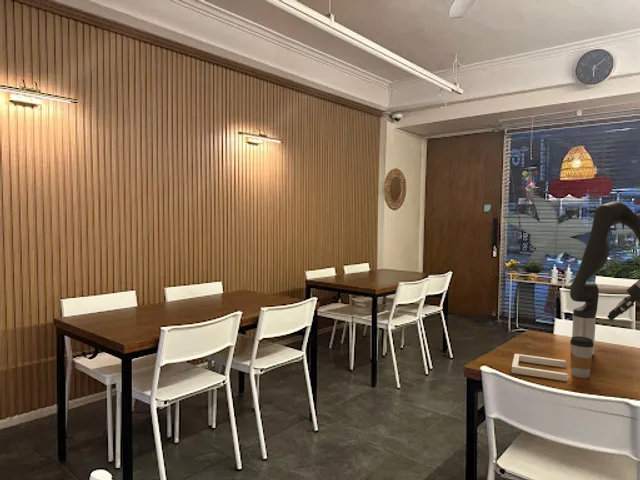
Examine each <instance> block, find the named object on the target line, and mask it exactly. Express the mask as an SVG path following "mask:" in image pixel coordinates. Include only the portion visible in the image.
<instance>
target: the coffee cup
mask: <svg viewBox="0 0 640 480" xmlns="http://www.w3.org/2000/svg"><path fill="white" fill-rule="evenodd" d="M569 343H570V344H569V345H570V367H571V368H570V373H571V374H572V376H574V377H576V378H579V379H588V378H589V377H590V374H591V369H592V359H593V355H592V352H593V347H594V348H595V342H594V343H593V340H592V339H590V338H586V337H579V336H574V337H572V336H571V339H570V342H569Z"/></svg>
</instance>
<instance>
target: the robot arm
mask: <svg viewBox="0 0 640 480" xmlns="http://www.w3.org/2000/svg"><path fill="white" fill-rule="evenodd" d="M616 224H622V225H624V226H626V227H628V228H629V229H630V230H631V231H632V232H633V234H634V235H635V238H636V239H637V241H638V242H639V243H640V216H638V215H637V214H636V212H634V211H633V210H632V209H631V208H630V207H629V206H627V205H626V204H625V203H624V202H622V201H618V200H617V201H611V202H607V203H603V204H601V205H598V207H597V208H596V209H595V212H594V215H593V221H592V225H591V226H592V227H591V230H590V234H589V237H588V241H587V244H586V246H585V248H584V252H583V255H582V258H581V262H580V265H579V268H578V270H577V272H576V275H575V277H574V279H573V281H572V283H571V285H570V289H569V290H570V291H569V296H570V299H571V300H572V301H573V302H578V303H580V302H581V303H584V304H583V305H582V306H579V307H576V308H574V309H573V312H572V330H571V332H572V333H571V338H572V337H574V336H579V337H586V338H590V339H592V340H593V343H594V344H595V340H596V339H595V338H596V337H595V336H596V317H597V312H598V303H599V296H600V295H599V292H600V291H599V286H598V284H597V283H596V282H592V281H591V282H590V281H589V279H590V278H591V277H592V276H594V275H595V274H596V273H597V272H599V271H601V269H603V268H604V267H605V265H606V264H607V261H608V258H609V255H610V251H611V250H610V244H609V241H608V235H609V232H610V229H611V227H612V226H613V225H616ZM626 293H627V294H628V295H627V297H626V296H625V297H624V298H623V299H622V300H620V301H619V302H618V303H617V305H616V306H615V307H614V308H613V309H612V310H610V311H609V312H608V315H607V319H609V320H610V321H613V320H615V319H616V318H617V317H619V316H620V315H623V314H624V313H625V312H627V311H628V310H629V309H631V308H633V307H635V304H634V303H639V304H640V278H639V279H638V280H637V281H636V282H635V283H633V284H632V285H631V286H630V287H628V288H627V289H626ZM594 354H595V346H594V347H593V352H592V356H593V355H594Z"/></svg>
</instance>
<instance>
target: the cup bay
mask: <svg viewBox="0 0 640 480" xmlns="http://www.w3.org/2000/svg"><path fill="white" fill-rule="evenodd" d="M520 362H524V363H529V364H537V365H538V364H539V365H543V366H544V365H545V366H552V367H558V368H566V365H567V364H566V362H567V361H566V360H565V359H558V358H557V359H556V358H551V357H542V356H536V355H529V354H528V355H527V354H523V353H522V354H521V353H514V355H513V359H512V365H511V374H518V375H524V376H529V377H539V378H544V379H551V380H556V381H563V382H568V373H567V372H560V371H553V370H546V369H540V368H532V367H526V366H520V365H519V364H520Z"/></svg>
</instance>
